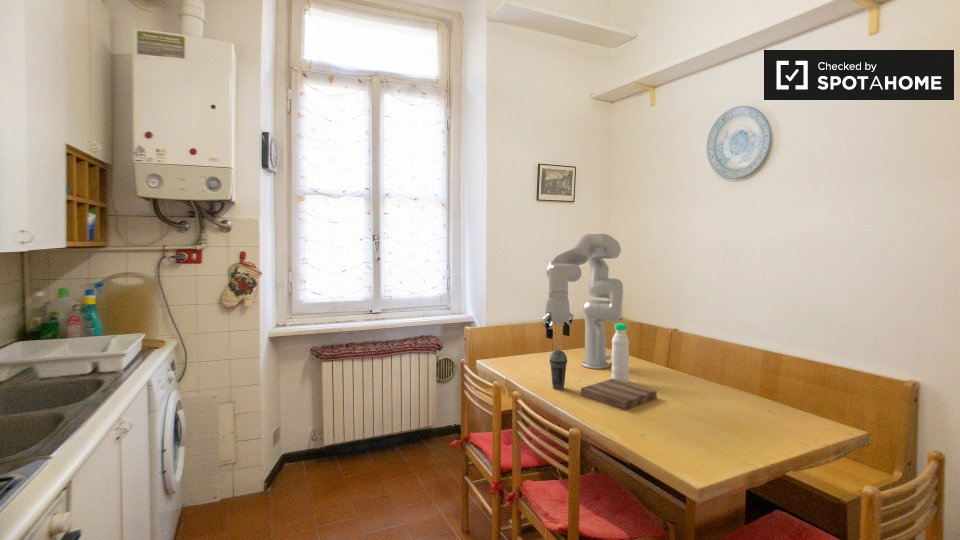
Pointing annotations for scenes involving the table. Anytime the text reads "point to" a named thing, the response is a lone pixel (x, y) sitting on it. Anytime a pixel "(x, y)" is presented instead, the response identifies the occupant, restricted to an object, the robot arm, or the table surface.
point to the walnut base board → (619, 393)
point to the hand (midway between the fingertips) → (557, 336)
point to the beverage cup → (558, 368)
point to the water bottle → (620, 354)
